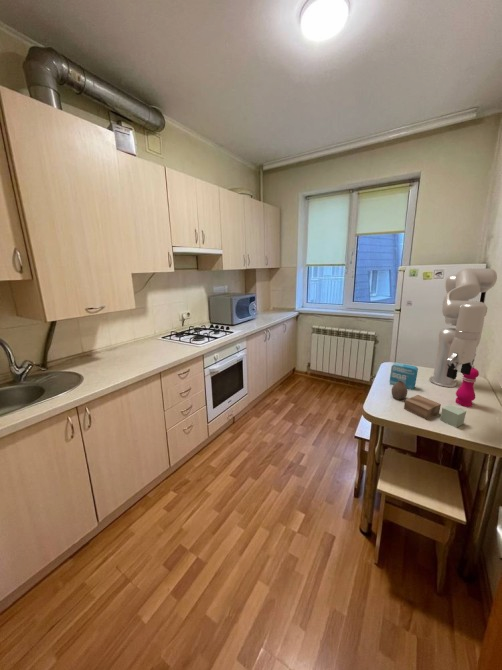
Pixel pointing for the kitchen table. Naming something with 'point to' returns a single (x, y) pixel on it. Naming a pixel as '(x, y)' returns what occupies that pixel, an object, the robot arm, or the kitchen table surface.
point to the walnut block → (422, 406)
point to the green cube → (453, 415)
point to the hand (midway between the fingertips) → (458, 375)
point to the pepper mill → (467, 389)
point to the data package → (403, 374)
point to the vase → (399, 390)
